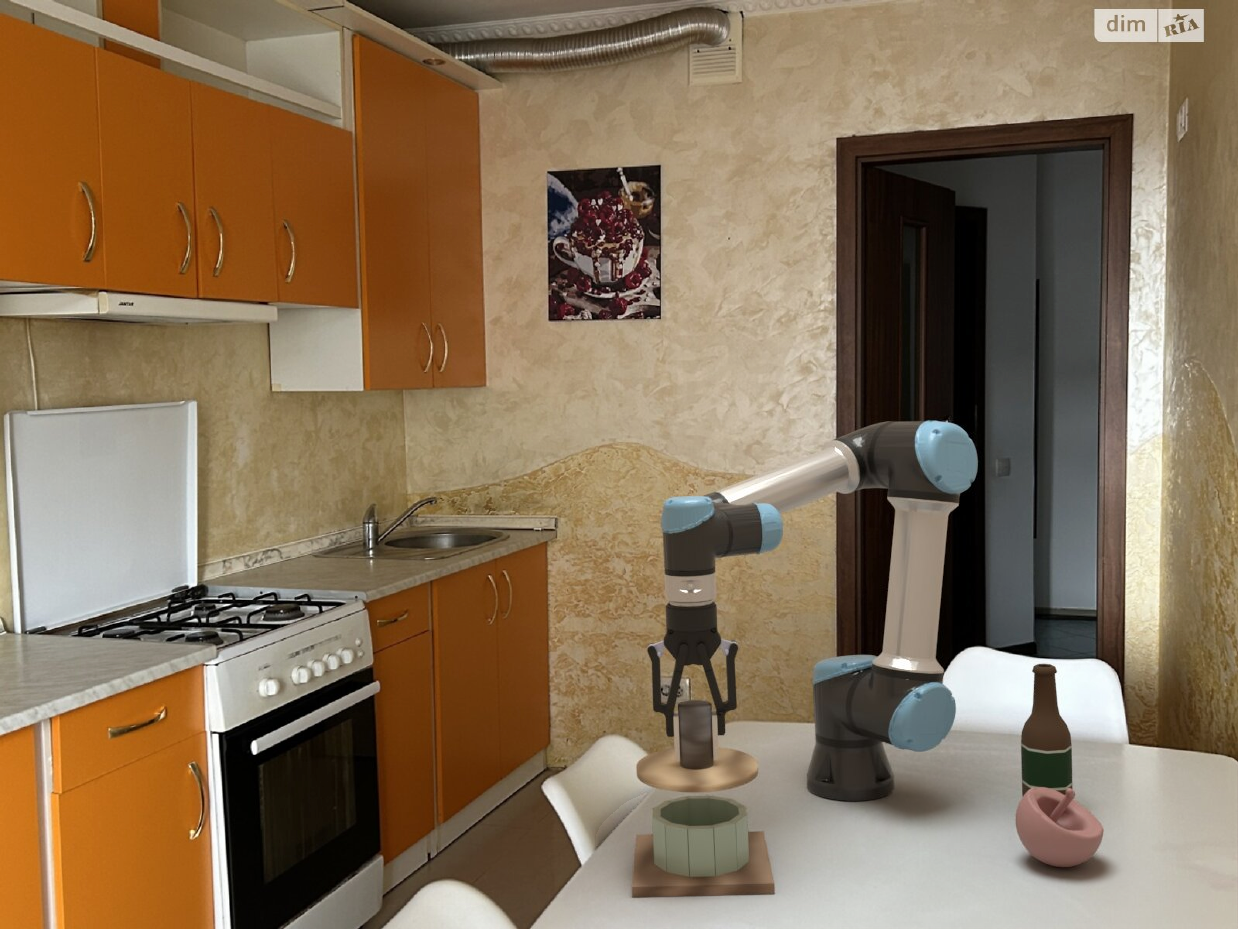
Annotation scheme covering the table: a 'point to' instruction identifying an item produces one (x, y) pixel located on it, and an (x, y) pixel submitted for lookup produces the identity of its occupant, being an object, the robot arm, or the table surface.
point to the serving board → (740, 882)
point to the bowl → (700, 836)
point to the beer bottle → (1046, 738)
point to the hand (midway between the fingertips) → (696, 757)
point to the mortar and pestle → (1057, 827)
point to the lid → (696, 758)
